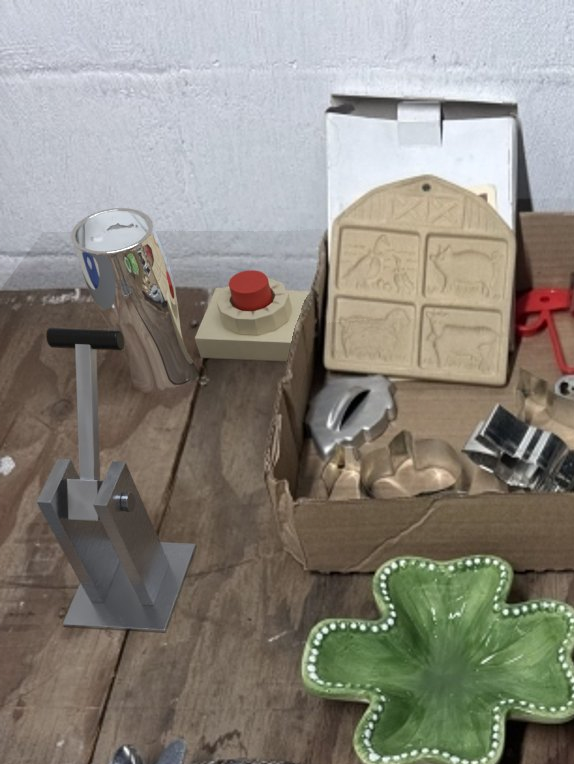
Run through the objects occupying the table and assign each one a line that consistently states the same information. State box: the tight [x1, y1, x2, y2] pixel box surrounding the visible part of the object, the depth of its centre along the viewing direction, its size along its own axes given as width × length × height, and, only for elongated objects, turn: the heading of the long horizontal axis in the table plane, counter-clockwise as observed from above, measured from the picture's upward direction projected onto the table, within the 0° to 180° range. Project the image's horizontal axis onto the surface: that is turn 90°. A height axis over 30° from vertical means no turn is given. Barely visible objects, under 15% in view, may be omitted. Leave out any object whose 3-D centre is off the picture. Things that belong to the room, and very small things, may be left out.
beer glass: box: [70, 207, 200, 396], centre depth 93 cm, size 7×7×15 cm
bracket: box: [36, 458, 197, 633], centre depth 80 cm, size 9×8×12 cm
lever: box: [45, 327, 124, 521], centre depth 75 cm, size 13×5×2 cm
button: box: [228, 269, 272, 311], centre depth 100 cm, size 4×4×2 cm
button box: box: [194, 277, 310, 362], centre depth 102 cm, size 10×8×4 cm
